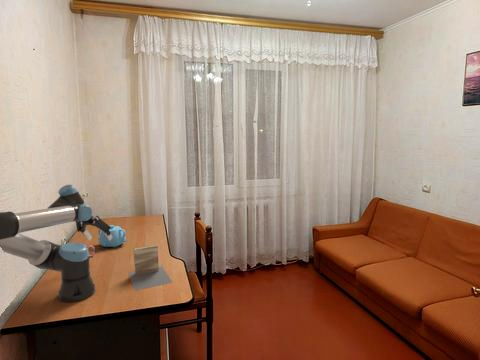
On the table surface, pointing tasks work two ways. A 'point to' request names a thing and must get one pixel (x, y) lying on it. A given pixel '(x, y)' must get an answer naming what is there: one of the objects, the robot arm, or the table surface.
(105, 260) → the table surface
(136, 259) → the plaque
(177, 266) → the table surface
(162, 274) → the mat
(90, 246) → the decorative key
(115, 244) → the decorative pot
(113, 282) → the table surface
